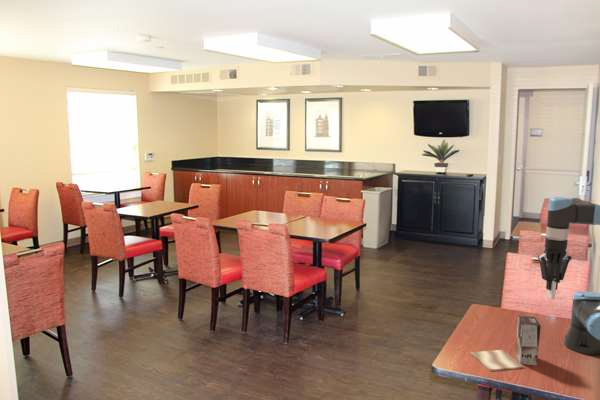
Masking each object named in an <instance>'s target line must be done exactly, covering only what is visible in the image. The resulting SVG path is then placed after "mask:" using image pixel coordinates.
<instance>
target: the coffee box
mask: <svg viewBox="0 0 600 400" xmlns="http://www.w3.org/2000/svg"><path fill="white" fill-rule="evenodd" d="M541 327H542V325H541V323H540V322H539V321H538V320H537V317H535V316H525V315H524V316H522V315H518V316H517V326H516V339H515V341H516V342H515V353H514V354H515V355H516V358H517V361H518V362H519V363H520V364H521V365H530V366H537V365H538V360H539V359H538V356H539V347H540V338H541V337H540V336H541Z"/></svg>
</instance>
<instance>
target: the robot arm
mask: <svg viewBox="0 0 600 400" xmlns="http://www.w3.org/2000/svg"><path fill="white" fill-rule="evenodd" d="M570 224H573V225H574V224H575V225H590V226H591V225H593V226H597V225H598V226H600V204H598V203H593V202H590V201H587V200H583V199H581V198H578V197H570V198H569V197H563V196H554V197H551V198H550V199H549V202H548V208H547V222H546V231H545V236H546V237H545V240H544V247H545V248H544V251H543V254H541V255H538V256H537V259H538V262H539V266H540V273H541V279H542V280H544V281H546V286H545V288H546V290H547V292H546V297H547V298H549V299H551V300H555V299H556V290H558V287H559V286H558V284H559V283H560V282H561V281H563V280H564V278H565V274H566V273H567V269H568V267H569V264H570V261H571V260H572V258H573V257H572V255H569V254H567V248H568V242H569V241H568V239H569V232H570ZM571 305H572V306H571V307H572V308H571V316H570V326H569V328H568V330H567V331H566V334H565V335H564V337H563V339H564V340H563V344H564V345H565V347H567V348H568V349H570V350H572V351H575V352H577V353H581V354H585V355H590V356H591V355H592V356H593V355H594V356H595V355H596V356H598V355H600V292H594V291H585V290H584V291H576V292H574V293H573V297H572V304H571Z"/></svg>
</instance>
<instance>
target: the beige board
mask: <svg viewBox="0 0 600 400" xmlns="http://www.w3.org/2000/svg"><path fill="white" fill-rule="evenodd" d="M470 355H471V356H472V357H474V359H475V360H477V362H479V363H480V364H482V366H484V367H485V368H486V369H487V370H488V371H489V372H492V371H505V370H506V371H507V370H514V369H525V366H524V364H520V362H519V360H517V359H515V358H514V357H512V356H511V355H510V354H508V353H507V352H506V351H505V350H504V349H496V350H493V349H492V350H482V351H471V352H470Z"/></svg>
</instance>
